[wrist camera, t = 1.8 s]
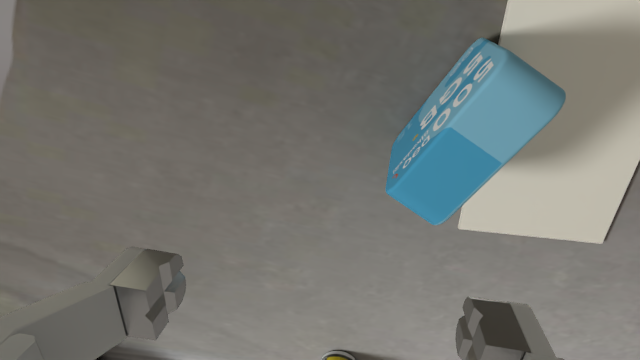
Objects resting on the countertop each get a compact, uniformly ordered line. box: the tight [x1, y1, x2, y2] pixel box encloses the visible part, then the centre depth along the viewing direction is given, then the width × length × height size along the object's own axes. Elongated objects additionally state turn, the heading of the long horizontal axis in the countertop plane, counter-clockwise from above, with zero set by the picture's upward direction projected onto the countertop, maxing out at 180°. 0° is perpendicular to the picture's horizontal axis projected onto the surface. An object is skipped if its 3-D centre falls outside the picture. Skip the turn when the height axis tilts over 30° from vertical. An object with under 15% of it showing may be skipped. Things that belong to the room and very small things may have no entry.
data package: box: [386, 38, 566, 225], centre depth 28 cm, size 12×4×12 cm, turn 148°
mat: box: [458, 0, 640, 244], centre depth 32 cm, size 14×26×1 cm, turn 179°
